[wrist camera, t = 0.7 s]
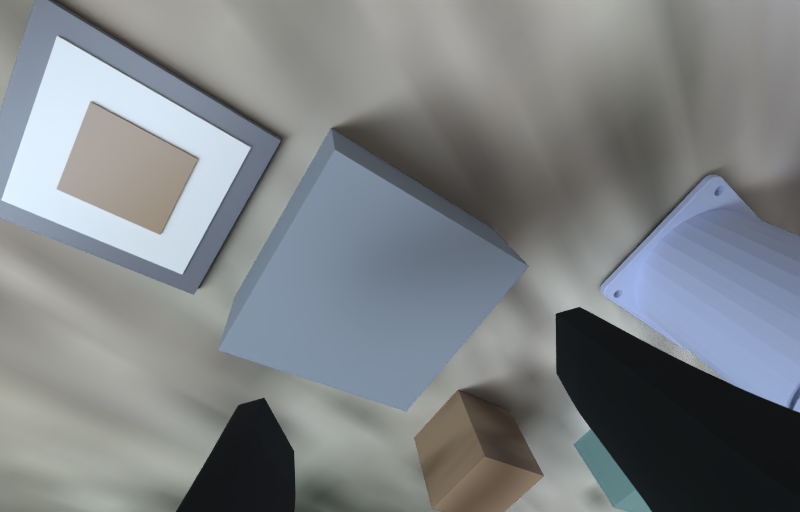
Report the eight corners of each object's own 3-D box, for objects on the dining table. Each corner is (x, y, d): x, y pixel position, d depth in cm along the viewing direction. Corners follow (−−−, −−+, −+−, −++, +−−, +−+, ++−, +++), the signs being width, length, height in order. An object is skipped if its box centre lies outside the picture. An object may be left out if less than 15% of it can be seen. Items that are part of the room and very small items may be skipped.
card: (281, 138, 16) (280, 142, 15) (196, 289, 18) (192, 297, 17) (44, -6, 12) (32, -7, 12) (-22, 202, 15) (-34, 208, 14)
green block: (653, 420, 30) (705, 478, 26) (609, 458, 31) (652, 519, 27) (618, 402, 28) (668, 462, 24) (573, 443, 29) (613, 507, 25)
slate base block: (491, 226, 20) (528, 266, 16) (392, 354, 22) (406, 411, 19) (330, 126, 16) (334, 149, 13) (236, 293, 19) (217, 349, 15)
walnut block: (509, 410, 26) (544, 476, 22) (466, 453, 27) (491, 523, 23) (457, 388, 24) (485, 456, 20) (414, 436, 26) (432, 509, 22)
